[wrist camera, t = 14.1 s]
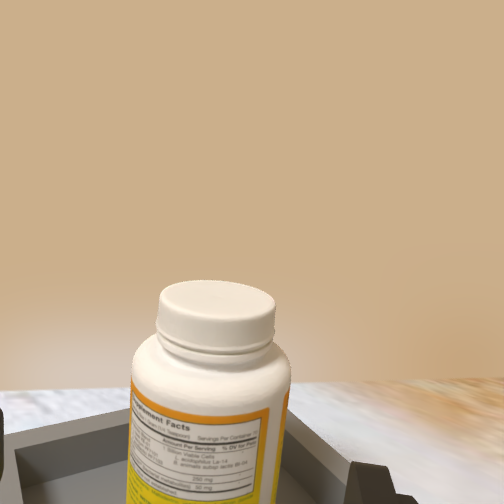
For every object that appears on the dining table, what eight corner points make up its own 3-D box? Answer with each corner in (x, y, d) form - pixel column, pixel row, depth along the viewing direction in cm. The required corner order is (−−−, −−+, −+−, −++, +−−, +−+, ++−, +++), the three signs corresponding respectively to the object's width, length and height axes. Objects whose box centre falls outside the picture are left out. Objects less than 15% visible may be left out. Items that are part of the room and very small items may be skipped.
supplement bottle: (203, 475, 21) (222, 266, 19) (297, 550, 18) (333, 304, 16) (93, 542, 17) (101, 285, 15) (186, 658, 14) (215, 343, 12)
